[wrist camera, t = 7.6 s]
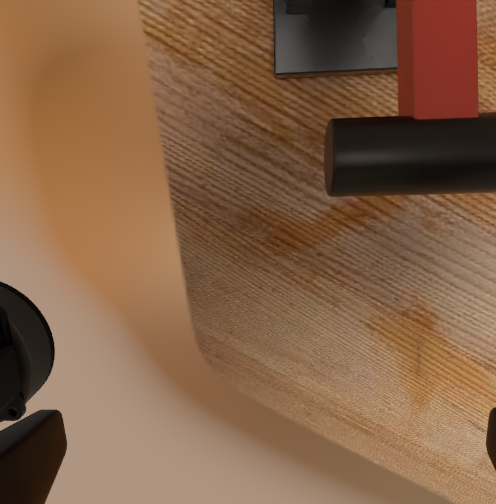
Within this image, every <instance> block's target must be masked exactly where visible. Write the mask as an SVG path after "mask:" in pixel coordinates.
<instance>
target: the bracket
mask: <svg viewBox="0 0 496 504" xmlns="http://www.w3.org/2000/svg"><path fill="white" fill-rule="evenodd" d="M273 13H274V72H275V78H276V79H283V78H304V77H325V76H346V75H367V74H388V73H398V62H397V12H396V0H273Z"/></svg>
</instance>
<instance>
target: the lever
mask: <svg viewBox="0 0 496 504" xmlns="http://www.w3.org/2000/svg"><path fill="white" fill-rule="evenodd" d="M396 12H397V62H398V113H399V116H388V117H363V118H338V119H331V120H329V122H328V124H327V128H326V134H325V146H324V176H325V186H326V191H327V194H328V196H331V197H347V196H385V195H423V194H461V193H496V112H487V113H479V109H478V63H477V18H476V0H396Z"/></svg>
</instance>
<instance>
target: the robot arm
mask: <svg viewBox="0 0 496 504" xmlns="http://www.w3.org/2000/svg"><path fill="white" fill-rule="evenodd" d="M13 409H15V410H16V411H17V412H16V411H14V410H13ZM25 412H26V406H25V401H24V396H23V391H22V384H21V379H20V373H19V368H18V363H17V358H16V353H15V349H14V345H13V340H12V335H11V330H10V325H9V320H8V315H7V312H6V310H5V309H4V308H3V307H2V306H0V420H1V421H4V420H6V421H15V420H18V419H20V418H21V417H22V416H23V415H24V414H25ZM486 447H487V452H488V455H489V457H490V459H491V462H492V464H493V466H494V468H495V470H496V407H495V408H493V409H492V410H491V411H490V414H489V421H488V429H487V438H486ZM66 449H67V440H66V434H65V429H64V423H63V418H62V414H61V413H60V411H58V410H40V411H37V412H35V413H33V414H31V415H29V416H28V417H26V418H24V419H22V420H20V421H18V422H16V423H15V424H13V425H11V426H9V427H7V428H5V429H3V430H1V431H0V504H45V501H46V499H47V497H48V494H49V492H50V489H51V487H52V485H53V482H54V480H55V477H56V475H57V473H58V470H59V468H60V466H61V463H62V461H63V458H64V456H65V453H66Z"/></svg>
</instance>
